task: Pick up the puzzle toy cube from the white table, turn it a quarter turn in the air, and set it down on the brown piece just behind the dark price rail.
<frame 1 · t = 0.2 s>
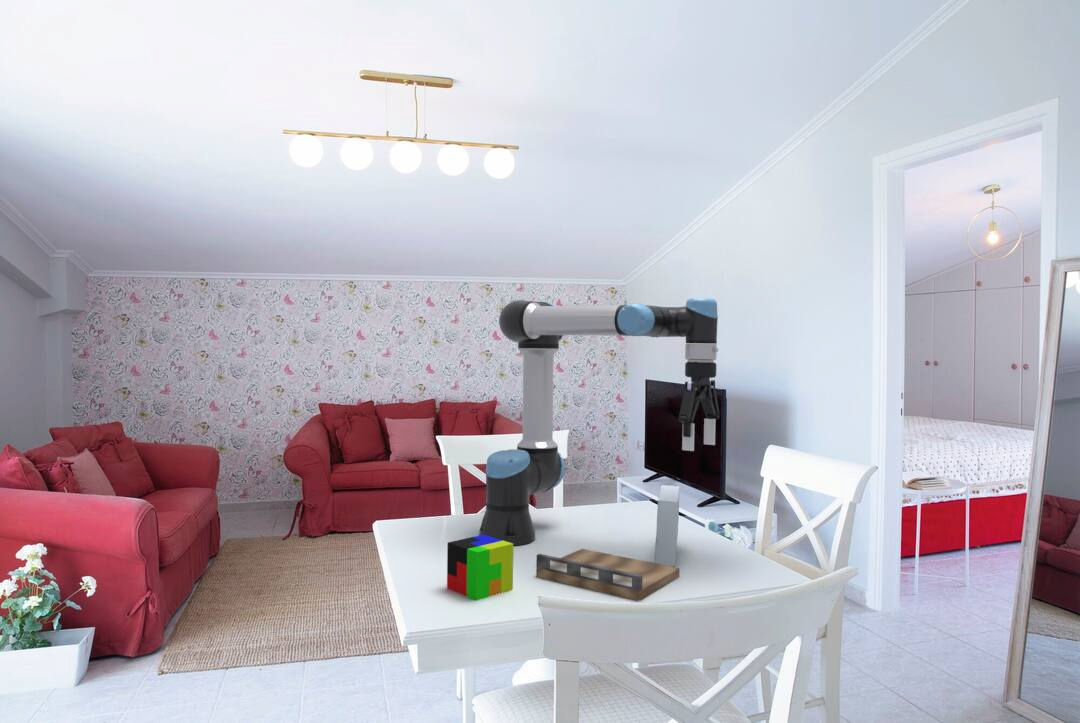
hand: (699, 447, 181), 28 cm above the table, fingers open, 13 cm apart
puzzle toy: (479, 590, 158), on the table
skincare box: (667, 555, 186), on the table
brown piece: (608, 576, 168), on the table
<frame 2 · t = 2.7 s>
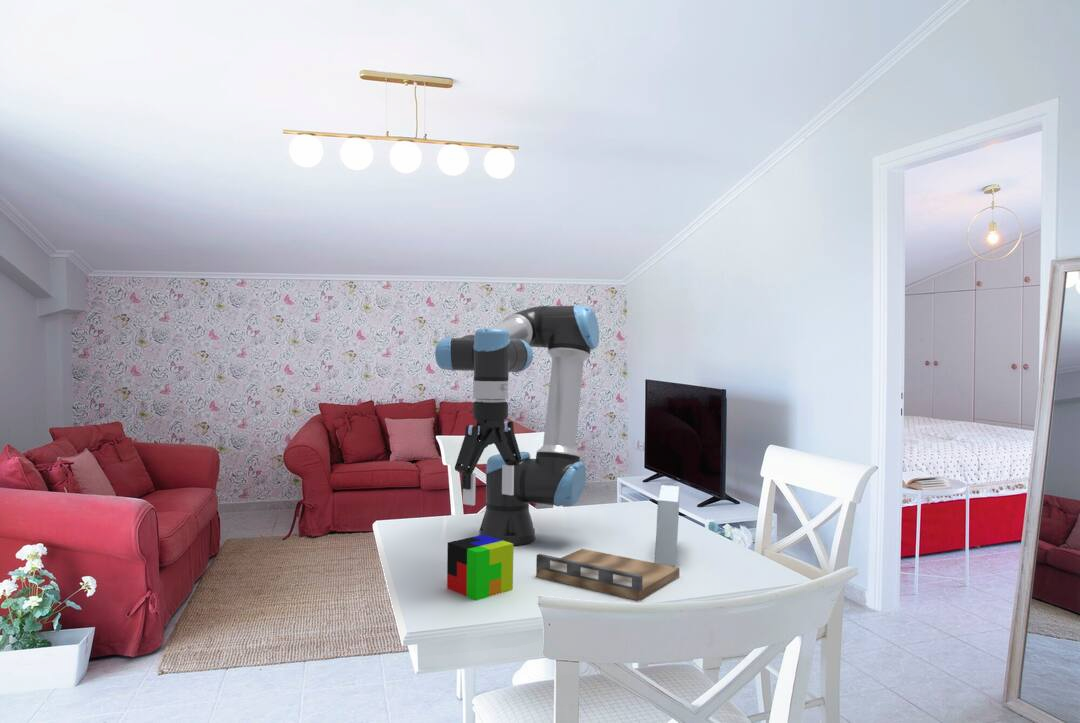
hand: (488, 499, 158), 19 cm above the table, fingers open, 13 cm apart
nothing on the table moved.
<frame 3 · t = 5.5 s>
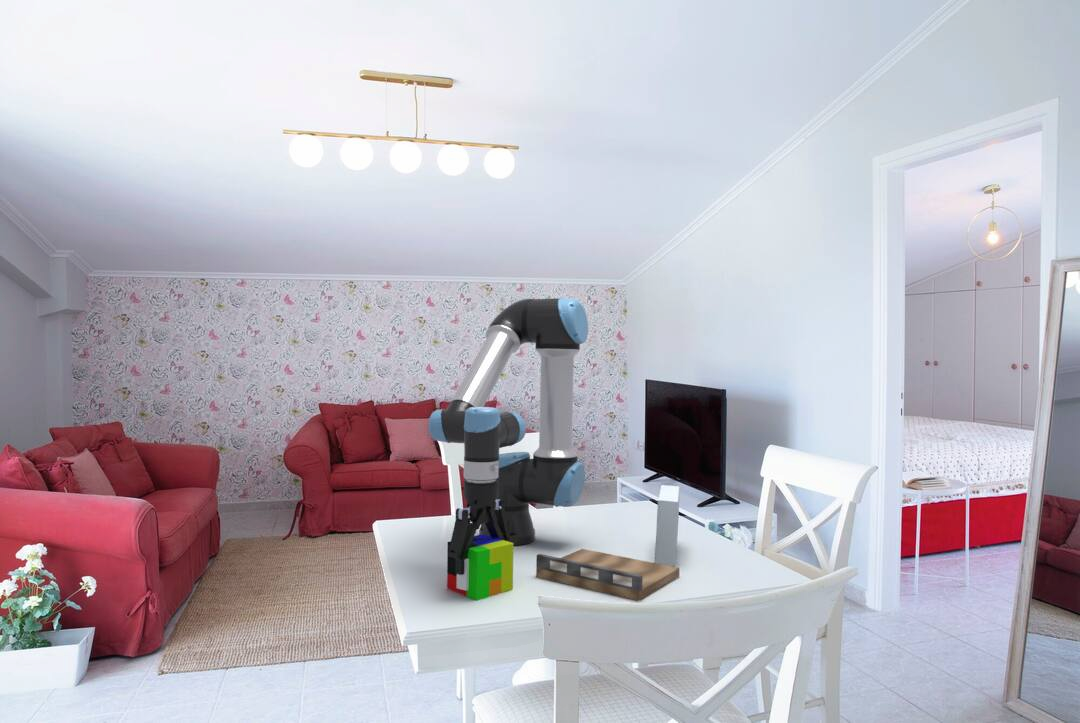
hand: (480, 581, 158), 1 cm above the table, fingers closed on puzzle toy, 11 cm apart
puzzle toy: (479, 589, 158), on the table, touching gripper
everything else where it was.
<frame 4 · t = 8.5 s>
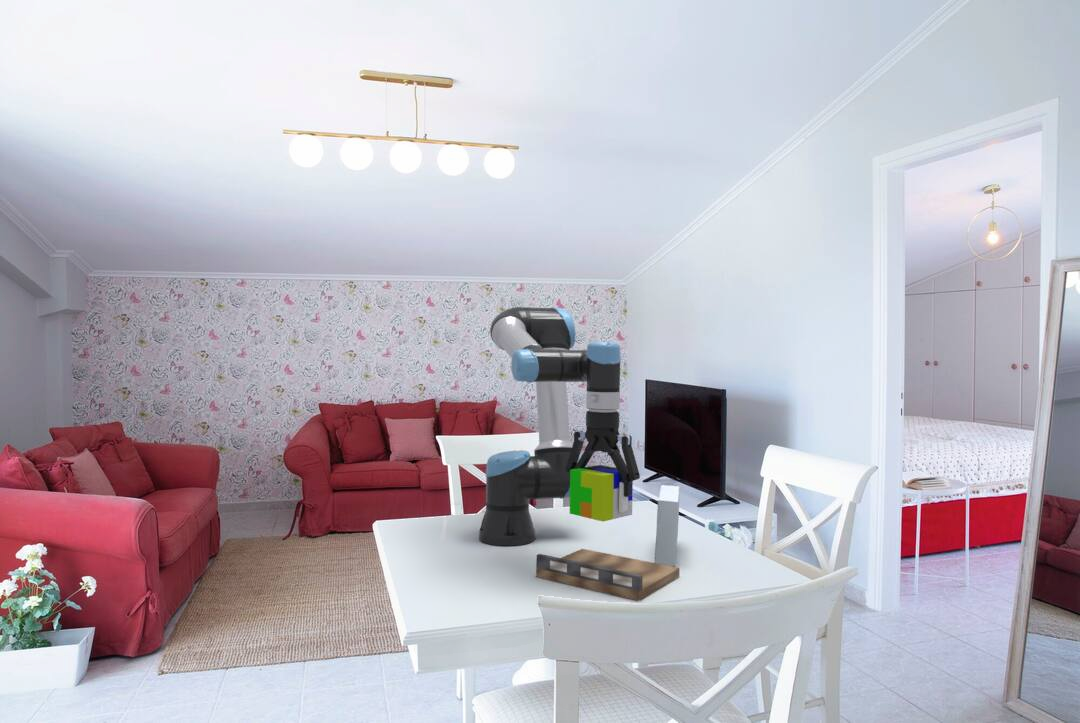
hand: (601, 507, 167), 16 cm above the table, fingers closed on puzzle toy, 11 cm apart
puzzle toy: (600, 515, 167), point 14 cm above the table, touching gripper
everything else where it was.
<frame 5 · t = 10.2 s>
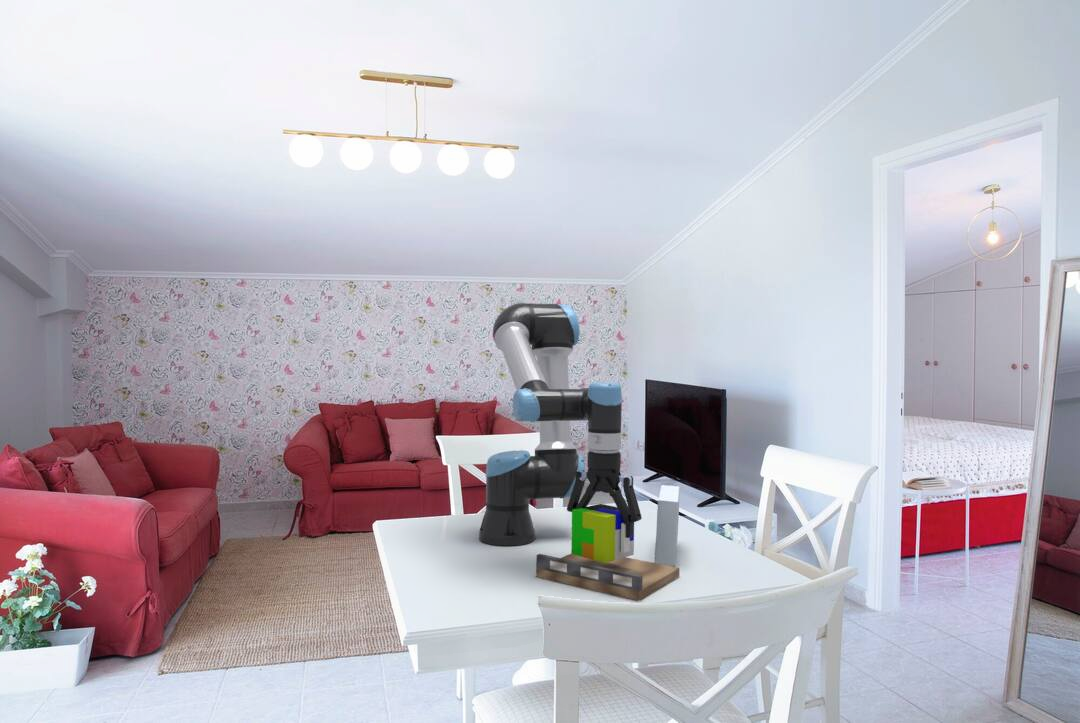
hand: (602, 547, 167), 7 cm above the table, fingers closed on puzzle toy, 11 cm apart
puzzle toy: (602, 555, 167), point 5 cm above the table, touching gripper
everything else where it was.
when the fingers open (4 cm above the table, at t = 11.7 s): puzzle toy stays where it is, resting on brown piece.
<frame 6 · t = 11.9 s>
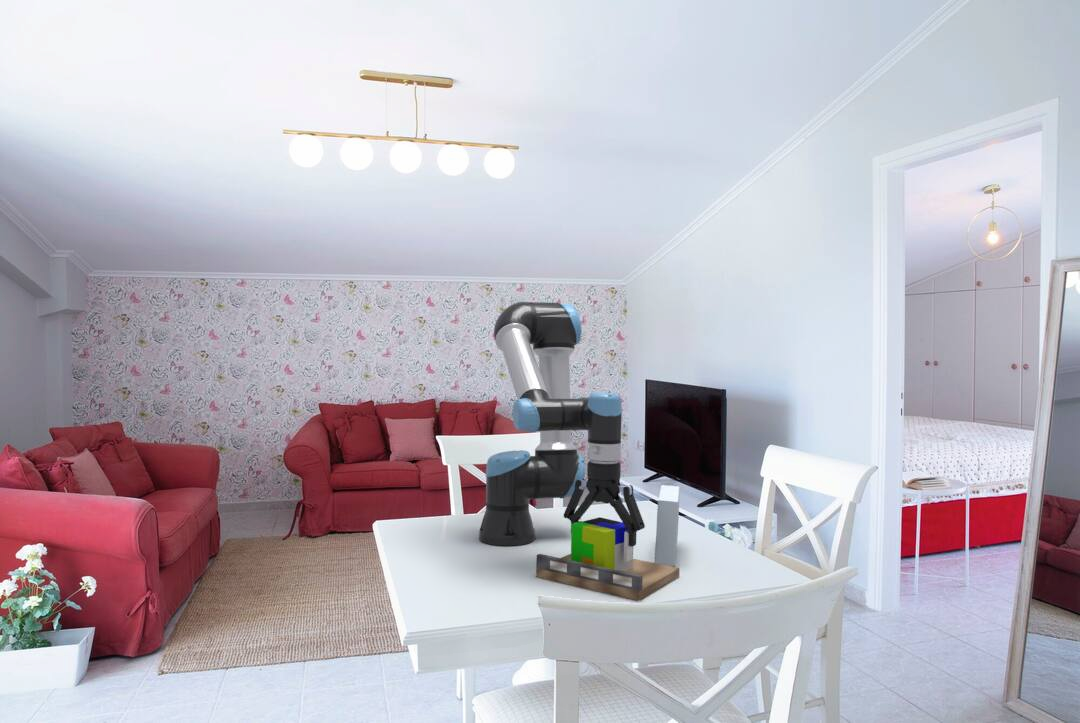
hand: (602, 555, 167), 5 cm above the table, fingers open, 12 cm apart
puzzle toy: (601, 569, 167), point 2 cm above the table, touching brown piece
everything else where it was.
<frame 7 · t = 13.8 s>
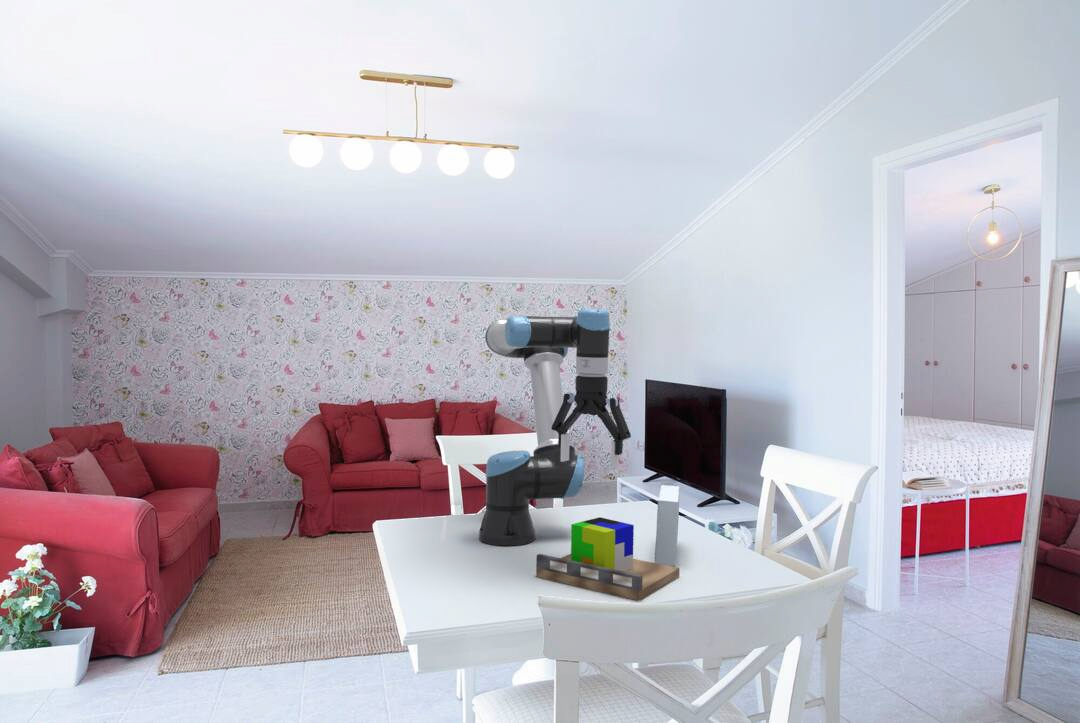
hand: (589, 464, 174), 24 cm above the table, fingers open, 13 cm apart
nothing on the table moved.
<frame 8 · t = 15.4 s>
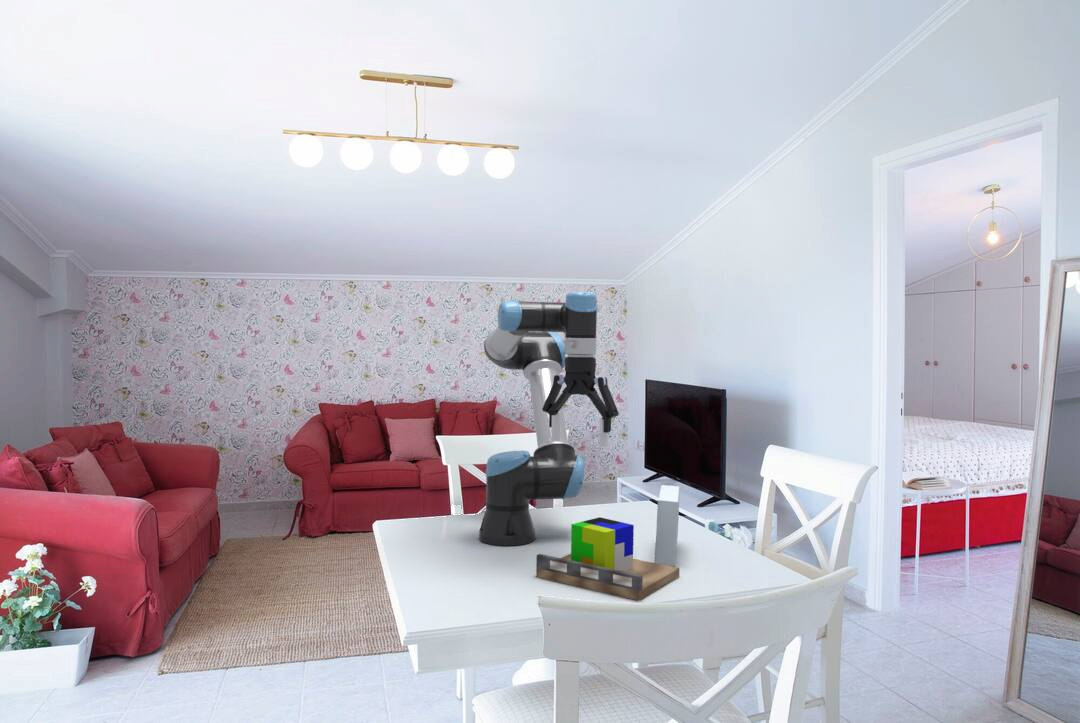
hand: (579, 443, 179), 29 cm above the table, fingers open, 13 cm apart
nothing on the table moved.
at the end: puzzle toy inside the target area on the brown piece (1.7 cm from its centre), point 1.8 cm above the brown piece's base; puzzle toy tilted 0°; the gripper is holding nothing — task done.
